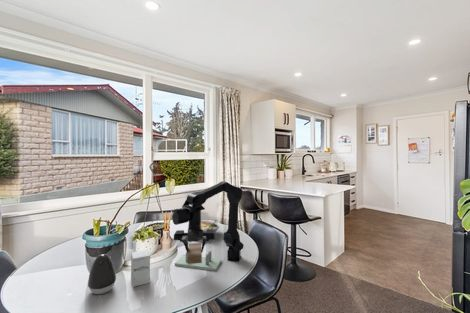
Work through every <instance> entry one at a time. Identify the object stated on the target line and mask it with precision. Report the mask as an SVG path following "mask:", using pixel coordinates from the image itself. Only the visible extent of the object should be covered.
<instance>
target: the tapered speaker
mask: <svg viewBox="0 0 470 313" xmlns="http://www.w3.org/2000/svg"><path fill="white" fill-rule="evenodd" d="M116 274H117V273H116V269H115V266H114V263H113V261H112V258H111V257H110V256H109V255H108V254H106V253H102V254H99V255H98V256H96V257H95V259H94V260H93V262H92V265H91V268H90V272H89V275H88V280H87V281H88V282H87V287H88V288H89V291H90V292H91V293H92V294H95V295H102V294H106V293H107V292H108V293H109V291H111V290H112V289H113V287H114V286H115V283H116V280H117V275H116Z"/></svg>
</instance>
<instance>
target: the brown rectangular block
mask: <svg viewBox="0 0 470 313" xmlns="http://www.w3.org/2000/svg"><path fill="white" fill-rule="evenodd" d="M188 248H189V249H188V264H195V263H202V257H203V256H202V253H203V252H202V253H201V249H202V243H201V242H194V243H192V242H189V243H188Z"/></svg>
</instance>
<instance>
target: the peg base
mask: <svg viewBox="0 0 470 313" xmlns="http://www.w3.org/2000/svg"><path fill="white" fill-rule="evenodd" d="M221 263H222V259H221V258H213V257H212V251H211V250H209V251H207V253H206V254H205V257H204V256H202V263H195V264H188V253H187V251H185V254H182V255H181V256H180V257H179V259H177V260H175V262H174V266H178V267H183V268H191V269H199V270H205V271H213V272H216V271H217V270H218V268H219V266H220V265H221Z"/></svg>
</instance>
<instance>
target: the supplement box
mask: <svg viewBox="0 0 470 313" xmlns="http://www.w3.org/2000/svg"><path fill="white" fill-rule="evenodd" d="M130 259H131V261H130V281H131V286H132V287H131V288H134V287H137V286H143V285H145V284H150V282H151V268H150V267H151V255H150V252H149V249H144V250H137V251H133V252H130Z"/></svg>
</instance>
